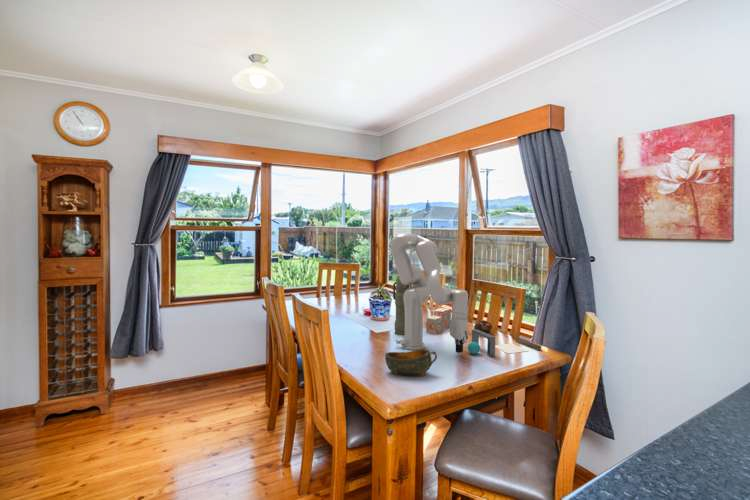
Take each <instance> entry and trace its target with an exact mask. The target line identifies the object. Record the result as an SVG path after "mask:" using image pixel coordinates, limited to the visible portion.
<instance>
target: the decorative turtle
mask: <svg viewBox="0 0 750 500" xmlns="http://www.w3.org/2000/svg"><path fill="white" fill-rule="evenodd" d="M492 328H493V325H492V324H491V323H490V322H489V321H486V320H479V321H478V322H475V324H474V326H473V330H474V329H477V330H480V331H482V332H485V333H487V334H490V332H491V331H492Z"/></svg>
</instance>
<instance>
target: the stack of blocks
mask: <svg viewBox="0 0 750 500" xmlns="http://www.w3.org/2000/svg"><path fill="white" fill-rule="evenodd" d="M432 314H433V315H430V316H428V317H426V323H425V327H426V329H425V332H426V334H431V335H436V334H437V335H438V334H440V333H441V332H443V331H446V330H448V329H450V322H451V317H452V308H448V307H438V308H437V309H434V310H433V313H432Z"/></svg>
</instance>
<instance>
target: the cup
mask: <svg viewBox="0 0 750 500" xmlns="http://www.w3.org/2000/svg"><path fill="white" fill-rule="evenodd" d="M431 355H434V358H433V360H432V357H431ZM384 357H385V363H386V366H387V368H388V369H389V371H390V372H391V374H392V375H395V376H398V377H406V378H421V377H424V376H425V375H426V373H427V372H428V371H429V370H430V368H431V367H432V365H433V364H434V363H435V362H436V360H437V359H438V355H437V352H436V351H433V350H432V351H429V350H428V349H427V348H426V349H425V348H423V349H420V350H410V351H402V352H397V351H395V352H393V351H392V352H389V351H388V352H385V353H384Z"/></svg>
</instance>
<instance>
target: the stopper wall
mask: <svg viewBox="0 0 750 500" xmlns="http://www.w3.org/2000/svg"><path fill="white" fill-rule="evenodd" d="M515 343H517V344H520V345H522V346H525V347H527V348H530V349H532V350H534V351H537V352H541V351H542V345H540V344H538V343H536V342H532V341H530V340H527V339H524V338H523V337H519V336H518V337H517V336H516V338H515Z"/></svg>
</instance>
